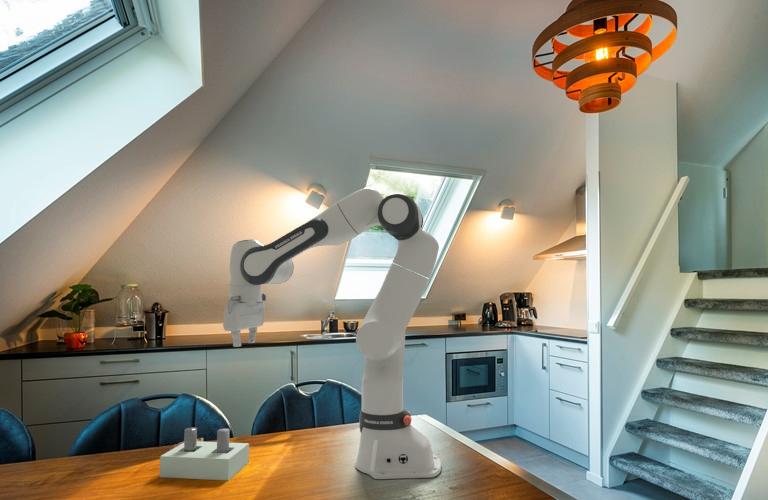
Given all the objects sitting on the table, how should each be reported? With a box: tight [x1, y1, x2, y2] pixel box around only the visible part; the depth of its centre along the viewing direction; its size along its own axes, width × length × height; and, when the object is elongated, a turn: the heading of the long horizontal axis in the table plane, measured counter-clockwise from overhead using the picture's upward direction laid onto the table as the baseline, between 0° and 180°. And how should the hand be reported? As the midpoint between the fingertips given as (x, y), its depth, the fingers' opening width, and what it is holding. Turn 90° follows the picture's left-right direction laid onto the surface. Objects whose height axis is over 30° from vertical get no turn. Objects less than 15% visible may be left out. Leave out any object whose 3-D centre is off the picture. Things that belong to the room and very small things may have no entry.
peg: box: [183, 427, 198, 452], centre depth 121 cm, size 3×3×10 cm
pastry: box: [168, 437, 205, 451], centre depth 133 cm, size 9×7×4 cm
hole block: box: [159, 428, 250, 481], centre depth 120 cm, size 18×12×10 cm, turn 83°
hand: (244, 344), depth 132 cm, fingers open, 8 cm apart
